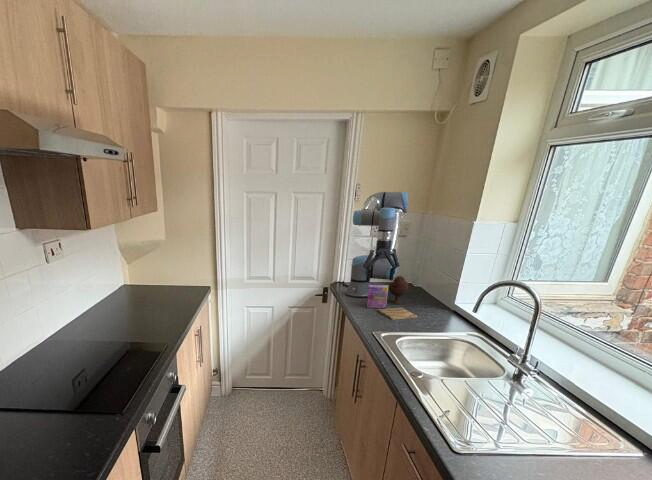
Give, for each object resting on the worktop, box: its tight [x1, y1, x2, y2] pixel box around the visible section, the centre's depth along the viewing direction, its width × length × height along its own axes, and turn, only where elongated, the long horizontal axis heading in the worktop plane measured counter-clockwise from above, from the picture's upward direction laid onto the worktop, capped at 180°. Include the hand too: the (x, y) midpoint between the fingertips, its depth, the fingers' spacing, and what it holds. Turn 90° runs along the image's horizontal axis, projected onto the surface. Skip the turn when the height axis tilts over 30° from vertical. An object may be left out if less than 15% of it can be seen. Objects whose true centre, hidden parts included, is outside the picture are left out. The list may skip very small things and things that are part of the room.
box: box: [366, 283, 389, 309], centre depth 229 cm, size 10×6×12 cm, turn 73°
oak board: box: [377, 307, 419, 321], centre depth 218 cm, size 16×14×1 cm
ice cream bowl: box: [388, 275, 410, 305], centre depth 235 cm, size 11×11×15 cm
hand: (379, 280), depth 225 cm, fingers open, 13 cm apart
